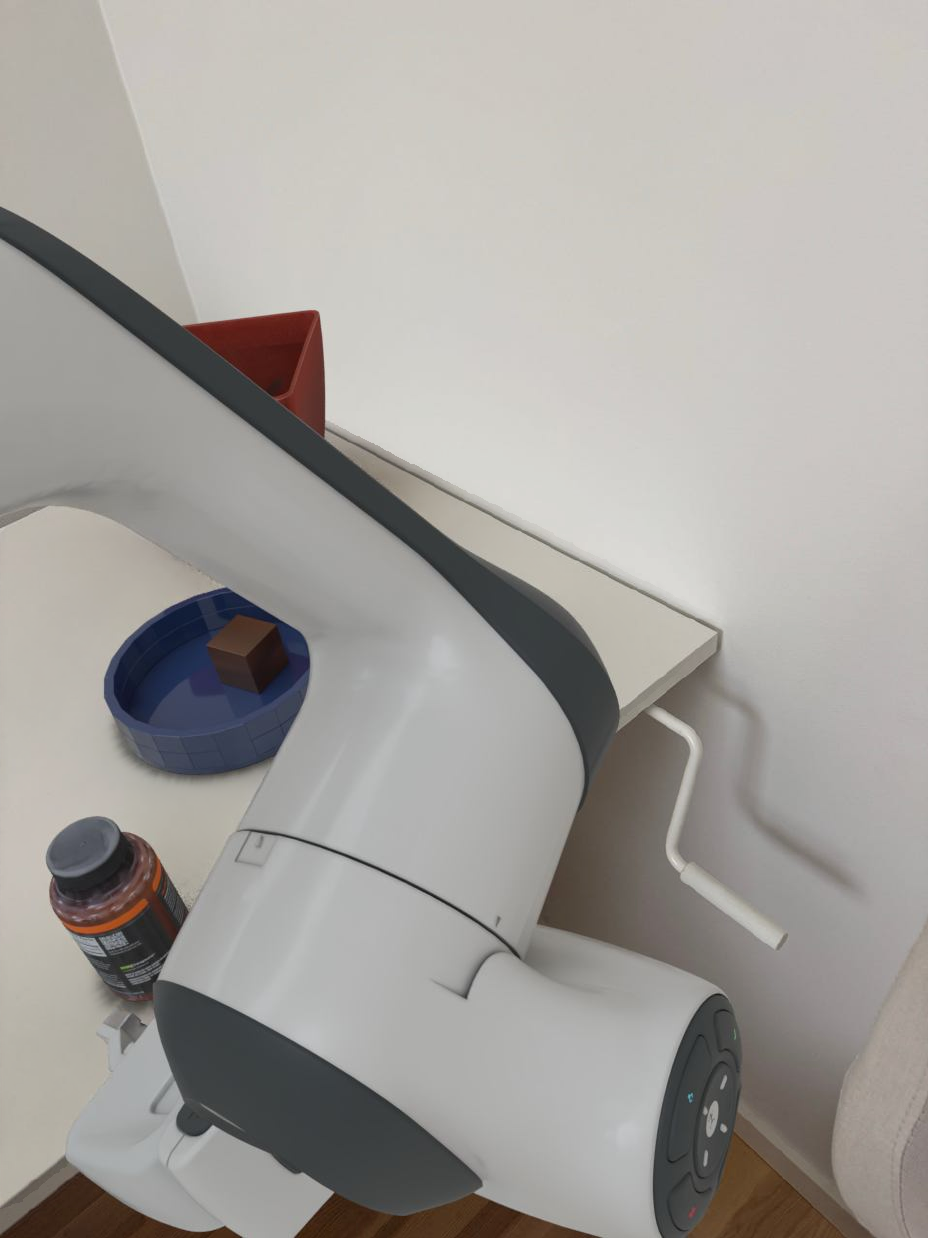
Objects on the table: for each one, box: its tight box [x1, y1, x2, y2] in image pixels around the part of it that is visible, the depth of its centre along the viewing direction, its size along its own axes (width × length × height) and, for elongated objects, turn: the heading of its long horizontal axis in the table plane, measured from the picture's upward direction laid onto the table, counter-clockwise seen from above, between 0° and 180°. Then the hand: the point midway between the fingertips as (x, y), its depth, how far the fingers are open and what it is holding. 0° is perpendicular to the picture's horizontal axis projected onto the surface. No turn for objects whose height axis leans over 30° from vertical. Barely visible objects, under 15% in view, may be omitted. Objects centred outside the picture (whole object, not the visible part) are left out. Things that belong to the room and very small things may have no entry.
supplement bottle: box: [45, 815, 190, 1002], centre depth 54 cm, size 6×6×11 cm
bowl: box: [103, 586, 310, 776], centre depth 75 cm, size 18×18×4 cm
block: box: [206, 615, 289, 694], centre depth 76 cm, size 4×4×4 cm
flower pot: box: [181, 309, 326, 439], centre depth 92 cm, size 19×19×17 cm
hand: (180, 944), depth 48 cm, fingers open, 8 cm apart
